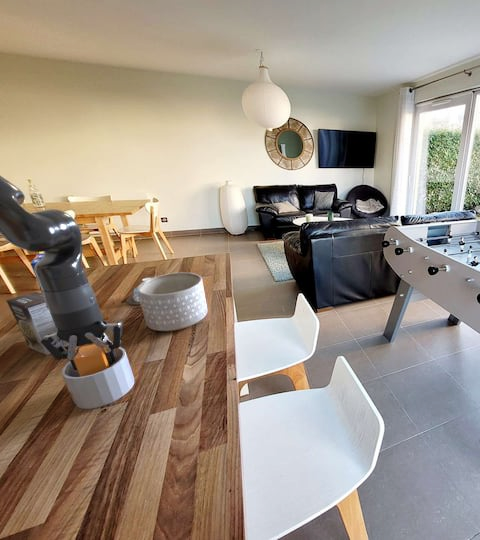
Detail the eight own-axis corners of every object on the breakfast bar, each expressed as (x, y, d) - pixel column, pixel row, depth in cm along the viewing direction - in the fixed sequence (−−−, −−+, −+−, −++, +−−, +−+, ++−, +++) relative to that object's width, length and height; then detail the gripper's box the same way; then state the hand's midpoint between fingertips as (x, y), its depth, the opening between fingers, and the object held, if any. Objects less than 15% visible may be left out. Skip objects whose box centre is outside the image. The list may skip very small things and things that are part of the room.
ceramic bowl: (66, 415, 64) (52, 384, 61) (84, 381, 74) (72, 353, 70) (129, 399, 69) (119, 369, 66) (138, 369, 78) (129, 342, 75)
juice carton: (87, 393, 67) (73, 359, 64) (93, 379, 72) (80, 346, 68) (114, 386, 70) (101, 353, 66) (118, 373, 74) (107, 341, 70)
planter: (211, 325, 99) (204, 288, 94) (145, 340, 90) (133, 300, 85) (205, 302, 114) (199, 269, 109) (148, 313, 105) (139, 277, 99)
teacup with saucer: (163, 300, 114) (159, 282, 111) (125, 308, 107) (119, 289, 104) (162, 289, 123) (158, 272, 120) (127, 295, 116) (122, 277, 114)
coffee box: (27, 348, 85) (4, 300, 78) (55, 336, 90) (35, 290, 84) (46, 356, 82) (23, 306, 76) (73, 343, 87) (54, 296, 81)
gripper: (118, 291, 68) (136, 349, 75) (36, 302, 62) (63, 364, 68) (110, 305, 62) (130, 367, 69) (17, 319, 56) (49, 386, 62)
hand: (96, 365), depth 69 cm, fingers closed on juice carton, 5 cm apart
